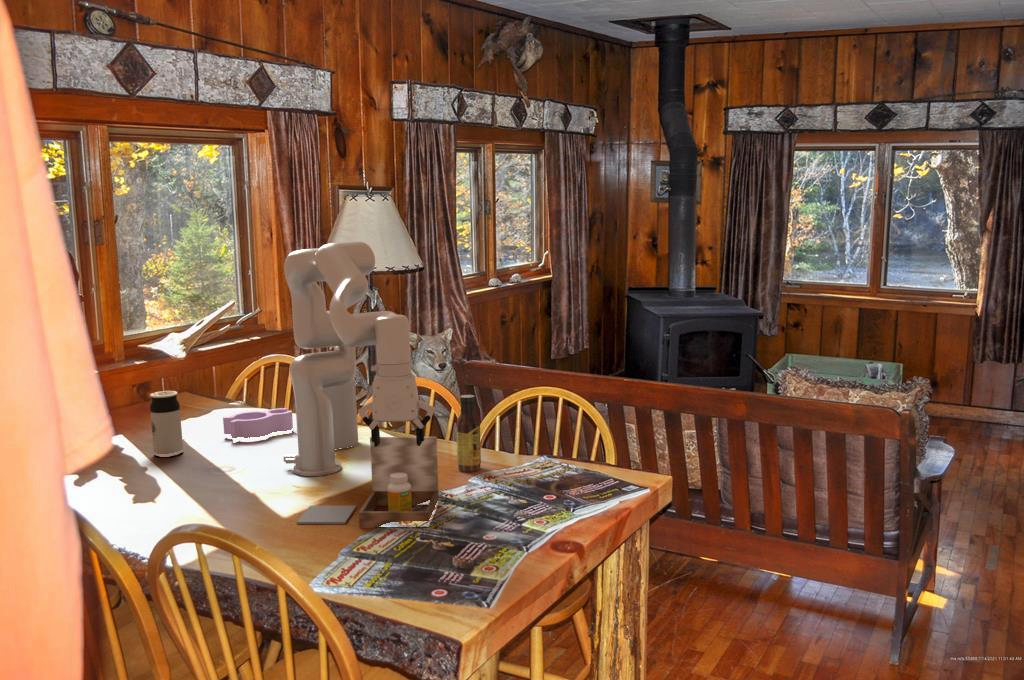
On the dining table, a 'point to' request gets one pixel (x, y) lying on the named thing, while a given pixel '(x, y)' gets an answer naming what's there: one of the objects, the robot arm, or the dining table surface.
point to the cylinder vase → (344, 414)
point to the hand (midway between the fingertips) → (398, 444)
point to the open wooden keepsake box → (421, 476)
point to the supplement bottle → (399, 493)
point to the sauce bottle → (468, 436)
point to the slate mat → (326, 515)
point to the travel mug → (166, 422)
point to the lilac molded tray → (258, 423)
